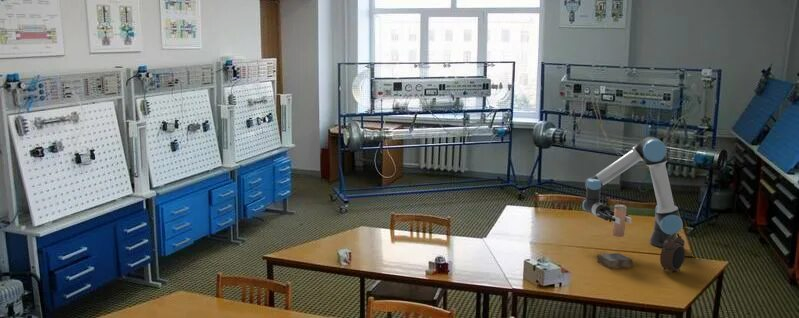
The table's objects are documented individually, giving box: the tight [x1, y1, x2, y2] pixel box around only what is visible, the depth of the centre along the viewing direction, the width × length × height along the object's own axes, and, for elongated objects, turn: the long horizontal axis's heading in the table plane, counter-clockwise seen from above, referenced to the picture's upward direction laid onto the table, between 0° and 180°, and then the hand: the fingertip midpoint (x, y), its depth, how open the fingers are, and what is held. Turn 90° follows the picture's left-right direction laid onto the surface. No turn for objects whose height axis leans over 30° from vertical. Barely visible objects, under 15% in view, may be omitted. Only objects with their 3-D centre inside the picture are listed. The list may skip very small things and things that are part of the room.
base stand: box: [596, 252, 633, 270], centre depth 375 cm, size 13×12×4 cm
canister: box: [612, 204, 627, 238], centre depth 380 cm, size 6×6×16 cm
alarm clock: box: [659, 232, 686, 275], centre depth 363 cm, size 15×7×20 cm, turn 129°
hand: (625, 221), depth 374 cm, fingers closed on canister, 6 cm apart
